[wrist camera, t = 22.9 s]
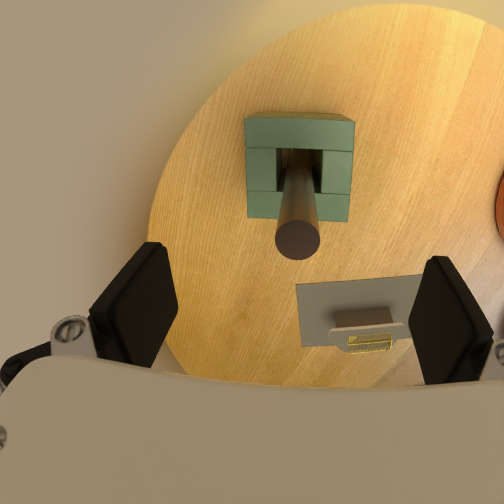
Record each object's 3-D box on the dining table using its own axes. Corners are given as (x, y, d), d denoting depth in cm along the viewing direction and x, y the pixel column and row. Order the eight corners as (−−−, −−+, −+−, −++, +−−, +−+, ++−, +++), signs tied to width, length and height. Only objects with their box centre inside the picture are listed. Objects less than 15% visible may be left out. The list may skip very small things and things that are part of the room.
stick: (289, 146, 32) (275, 219, 14) (309, 147, 31) (321, 221, 14) (288, 165, 33) (274, 259, 16) (309, 166, 32) (318, 262, 15)
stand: (256, 111, 30) (243, 117, 23) (342, 114, 29) (355, 121, 22) (258, 190, 35) (247, 218, 28) (338, 193, 33) (347, 222, 27)
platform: (413, 337, 42) (423, 368, 36) (301, 347, 46) (300, 380, 40) (425, 273, 36) (441, 304, 31) (295, 284, 40) (294, 317, 35)
